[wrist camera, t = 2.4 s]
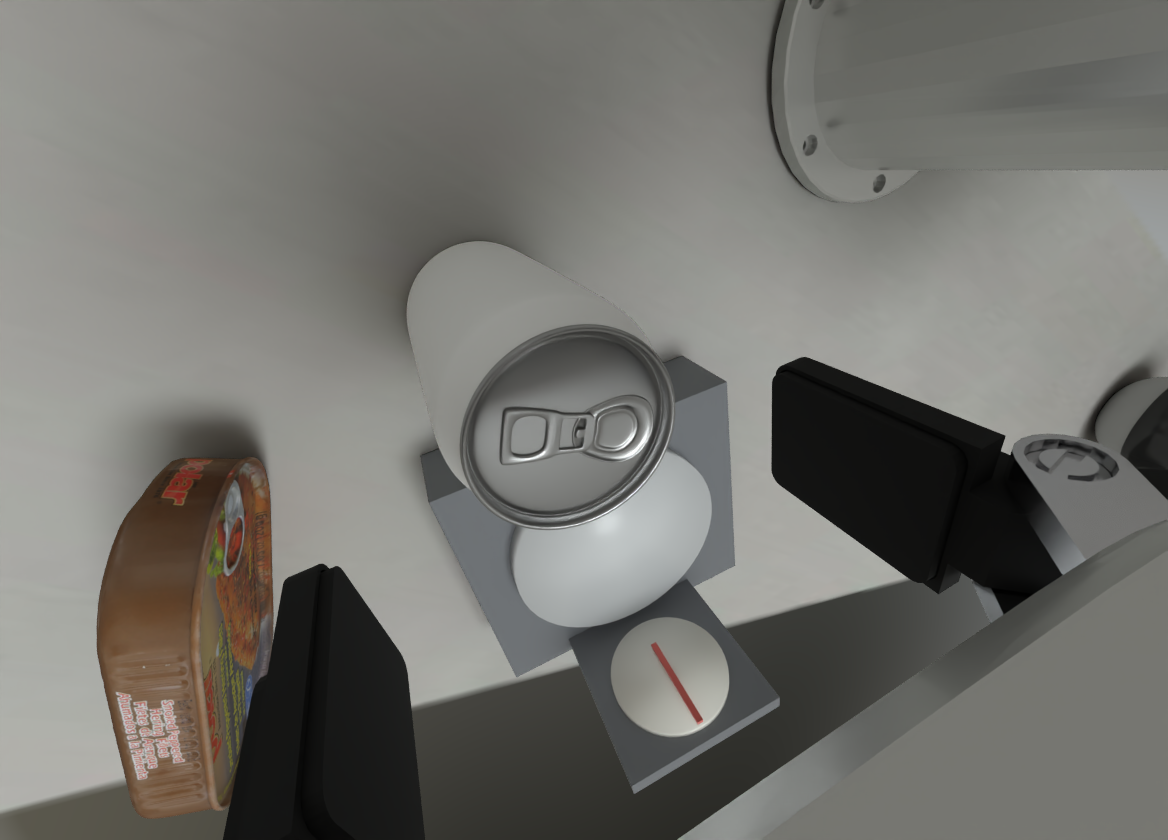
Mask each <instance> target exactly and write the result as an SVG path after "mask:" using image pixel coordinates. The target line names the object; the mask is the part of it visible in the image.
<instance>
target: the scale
mask: <svg viewBox="0 0 1168 840" xmlns="http://www.w3.org/2000/svg"><path fill="white" fill-rule="evenodd" d="M663 364H664V366H665V367H666V369H667V371H668V373H669V376H670V379H671V381H672V385H673V389H674V394H675V407H676V409H675V422H674V428H673V432H672V436H671V439H670V442H669V445H668V448H667V450H666V452H665V454H664V456H663V458H662V460H661V462H660V464H659V465H658V467H657V469H656V470H655V472H654V473H653V474H652V476H651V477H650V478H649V480H648V481H647V482H646V483H645V484H644V485H643V487H642V488H641V489H640V490H639V491H638V492H637V493H636V494H635V495H633V496H632V497H631V498H630V499H629V500H628V501H626V502H625V503H624V504H622V505H621V506H620V507H618V508H617V509H615V510H613V511H612V512H610V513H608V514H607V515H605V516H603V517H601V518H599V519H596V520H594V521H592V522H589V523H586V524H583V525H580V526H576V527H572V528H566V529H559V530H535V529H529V528H524V527H520V526H517V525H514V524H511V523H509V522H507V521H504V520H503V519H501V518H499V517H497V516H496V515H494V514H493V513H492V512H490V511H489V510H488V509H487V508H486V507H484V506H483V505H482V504H481V502H480V501H479V500H478V499H477V498H476V496H475V495H474V493H473V492H472V491H471V490H470V489H469V488H467V487H466V486H465V485H464V484H463V483H462V482H461V481H460V480H459V479H458V478H457V477H456V476H455V475H454V473H453V472H452V471H451V469H450V468H449V466H448V465H447V463H446V461H445V459H444V457H443V455H442V453H441V451H440V449H437V450H435V451H432V452H429V453H427V454H424V455H422V456H420V457H421V462H422V468H423V473H424V479H425V484H426V490H427V495H428V501H429V504H430V506H431V508H432V510H433V512H434V514H435V516H436V518H437V520H438V522H439V524H440V526H441V528H442V530H443V532H444V534H445V536H446V538H447V540H448V542H449V544H450V546H451V548H452V550H453V552H454V554H455V556H456V558H457V560H458V562H459V564H460V566H461V568H462V570H463V572H464V574H465V576H466V578H467V580H468V582H469V584H470V586H471V588H472V590H473V592H474V594H475V596H476V598H477V600H478V602H479V603H480V605H481V607H482V609H483V611H484V613H485V615H486V617H487V619H488V621H489V623H490V625H491V627H492V629H493V631H494V633H495V635H496V637H497V639H498V641H499V643H500V645H501V647H502V649H503V651H504V653H505V655H506V657H507V659H508V661H509V663H510V665H511V667H512V669H513V671H514V673H515V675H516V677H518V676H520V675H522V674H524V673H526V672H528V671H530V670H532V669H534V668H536V667H538V666H540V665H542V664H544V663H546V662H547V661H549V660H551V659H553V658H555V657H557V656H559V655H561V654H563V653H565V652H567V651H569V650H571V649H573V651H574V654H575V656H576V658H577V661H578V663H579V666H580V668H581V670H582V672H583V675H584V677H585V680H586V682H587V684H588V686H589V689H590V691H591V694H592V696H593V698H594V700H595V703H596V705H597V708H598V710H599V712H600V714H601V717H602V719H603V722H604V724H605V726H606V729H607V731H608V733H609V736H610V738H611V740H612V743H613V745H614V748H615V750H616V752H617V754H618V757H619V759H620V762H621V764H622V766H623V768H624V771H625V773H626V775H627V778H628V780H629V783H630V785H631V787H632V789H633V792H634V794H635V793H636V792H638V791H640V790H641V789H643V788H645V787H646V786H648V785H650V784H651V783H653V782H655V781H656V780H658V779H659V778H661V777H663V776H665V775H666V774H668V773H669V772H671V771H673V770H674V769H676V768H678V767H679V766H681V765H682V764H684V763H686V762H688V761H689V760H691V759H692V758H694V757H696V756H697V755H699V754H701V753H702V752H704V751H706V750H707V749H709V748H711V747H712V746H714V745H715V744H717V743H719V742H721V741H722V740H724V739H726V738H727V737H729V736H730V735H732V734H733V733H735V732H737V731H739V730H740V729H742V728H744V727H745V726H747V725H748V724H750V723H752V722H754V721H755V720H757V719H758V718H760V717H762V716H763V715H765V714H767V713H768V712H770V711H772V710H773V709H775V708H777V707H778V706H779V700H780V697H779V696H778V695H777V693H776V692H775V691H774V690H773V688H772V687H771V686H770V684H769V683H768V682H767V681H766V679H765V678H764V677H763V675H762V674H761V673H760V672H759V670H758V669H757V668H756V666H755V665H754V664H753V663H752V661H751V660H750V659H749V658H748V656H747V655H746V654H745V652H744V651H743V650H742V649H741V647H740V646H739V645H738V644H737V642H736V641H735V640H734V638H733V637H732V636H731V634H730V633H729V632H728V631H727V629H726V628H725V627H724V625H723V624H722V623H721V622H720V620H719V619H718V618H717V617H716V615H715V614H714V613H713V611H712V610H711V609H710V608H709V606H708V605H707V604H706V602H705V601H704V600H703V599H702V597H701V596H700V595H699V593H698V592H697V591H696V590H695V588H694V586H696V585H698V584H700V583H702V582H704V581H706V580H708V579H710V578H712V577H714V576H715V575H717V574H719V573H721V572H723V571H725V570H727V569H729V568H731V567H733V566H735V554H734V532H733V510H732V487H731V465H730V443H729V421H728V398H727V382H726V381H724V380H723V379H721V378H719V377H718V376H716V375H714V374H713V373H711V372H709V371H707V370H706V369H704V368H702V367H701V366H699V365H697V364H696V363H694V362H692V361H691V360H689V359H687V358H685V357H684V356H681V357H678V358H676V359H673V360H670V361H668V362H665V363H663Z"/></svg>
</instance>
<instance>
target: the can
mask: <svg viewBox="0 0 1168 840" xmlns="http://www.w3.org/2000/svg"><path fill="white" fill-rule="evenodd" d="M407 325H408V331H409V336H410V341H411V345H412V349H413V353H414V357H415V362H416V366H417V370H418V374H419V378H420V382H421V386H422V390H423V394H424V398H425V402H426V406H427V409H428V413H429V417H430V421H431V424H432V428H433V431H434V435H435V438H436V441H437V444H438V446H439V449H440V451H441V453H442V455H443V457H444V459H445V461H446V463H447V465H448V466H449V468H450V469H451V471H452V472H453V473H454V475H455V476H456V477H457V478H458V479H459V480H460V481H461V482H462V483H463V484H464V485H465V486H466V487H467V488H469V489H470V490H471V491H472V492H473V493H474V495H475V496H476V498H477V499H478V500H479V501H480V502H481V504H482V505H483V506H484V507H486V508H487V509H488V510H489V511H490V512H492V513H493V514H494V515H496V516H497V517H499V518H501V519H503V520H504V521H507V522H509V523H511V524H514V525H517V526H520V527H524V528H529V529H535V530H559V529H566V528H572V527H576V526H580V525H583V524H586V523H589V522H592V521H594V520H596V519H599V518H601V517H603V516H605V515H607V514H608V513H610V512H612V511H613V510H615V509H617V508H618V507H620V506H621V505H622V504H624V503H625V502H626V501H628V500H629V499H630V498H631V497H632V496H633V495H635V494H636V493H637V492H638V491H639V490H640V489H641V488H642V487H643V485H644V484H645V483H646V482H647V481H648V480H649V478H650V477H651V476H652V474H653V473H654V472H655V470H656V469H657V467H658V465H659V464H660V462H661V460H662V458H663V456H664V454H665V452H666V450H667V448H668V445H669V442H670V439H671V436H672V432H673V428H674V422H675V409H676V407H675V394H674V389H673V385H672V381H671V379H670V376H669V373H668V371H667V369H666V367H665V366H664V364H663V362H662V361H661V359H660V358H659V357H658V355H657V354H656V353H655V352H654V351H653V349H652V347H651V345H650V343H649V341H648V339H647V337H646V336H645V334H644V333H643V331H642V330H641V328H640V327H639V326H638V325H637V324H636V323H635V322H634V321H633V320H632V319H631V318H630V317H629V316H628V315H627V314H626V313H625V312H623V311H622V310H621V309H620V308H618V307H617V306H615V305H614V304H612V303H611V302H609V301H608V300H606V299H604V298H603V297H601V296H599V295H597V294H596V293H594V292H592V291H590V290H589V289H587V288H585V287H583V286H581V285H579V284H578V283H576V282H574V281H572V280H570V279H569V278H567V277H565V276H563V275H561V274H559V273H558V272H556V271H554V270H552V269H550V268H548V267H546V266H545V265H543V264H541V263H539V262H537V261H535V260H533V259H531V258H530V257H528V256H526V255H524V254H522V253H520V252H518V251H516V250H514V249H512V248H509V247H507V246H504V245H501V244H497V243H493V242H486V241H473V242H465V243H461V244H457V245H454V246H452V247H449V248H447V249H445V250H443V251H442V252H440V253H438V254H437V255H436V256H434V257H433V258H432V259H431V260H430V261H429V262H428V263H427V264H426V265H425V266H424V267H423V268H422V269H421V271H420V272H419V274H418V275H417V277H416V278H415V280H414V282H413V285H412V287H411V290H410V293H409V297H408V302H407Z"/></svg>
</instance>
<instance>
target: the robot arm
mask: <svg viewBox="0 0 1168 840" xmlns="http://www.w3.org/2000/svg"><path fill="white" fill-rule="evenodd" d="M772 107H773V115H774V123H775V130H776V133H777V137H778V140H779V143H780V147H781V150H782V153H783V155H784V157H785V159H786V161H787V163H788V165H789V167H790V169H791V171H792V173H793V174H794V175H795V176H796V178H797V179H798V180H799V181H800V182H801V184H802V185H803V186H804V187H805V188H806V189H808V190H809V191H811V192H812V193H814V194H815V195H817V196H818V197H821V198H824V199H827V200H830V201H833V202H847V203H860V202H867V201H873V200H875V199H878V198H880V197H883V196H885V195H888V194H890V193H891V192H893V191H894V190H896V189H897V188H899V187H901V186H902V185H904V184H905V183H906V182H908V181H909V180H910V179H911V178H912V177H913V176H914V175H915V174H916V173H918V172H919V171H920V170H1168V0H786V1H785V5H784V8H783V12H782V16H781V20H780V24H779V28H778V32H777V36H776V43H775V50H774V58H773V65H772ZM1004 439H1005V435H1002V434H1000V433H997V432H995V431H992V430H990V429H987V428H984V427H982V426H979V425H977V424H974V423H972V422H969V421H967V420H964V419H962V418H959V417H957V416H954V415H952V414H949V413H947V412H944V411H942V410H939V409H937V408H934V407H931V406H929V405H926V404H924V403H921V402H919V401H916V400H914V399H911V398H909V397H906V396H904V395H901V394H899V393H896V392H894V391H891V390H889V389H886V388H884V387H881V386H878V385H876V384H873V383H871V382H868V381H866V380H863V379H861V378H858V377H856V376H853V375H851V374H848V373H846V372H843V371H841V370H838V369H836V368H833V367H831V366H828V365H825V364H823V363H820V362H818V361H815V360H813V359H810V358H807V357H802V358H799V359H796V360H794V361H792V362H789V363H787V364H785V365H782V366H781V367H779V368H778V370H777V371H776V376H775V377H774V378H773V381H772V474H773V477H774V479H775V480H776V482H777V483H778V484H779V485H780V486H782V487H783V488H785V489H786V490H787V491H789V492H790V493H791V494H793V495H794V496H796V497H797V498H798V499H800V500H801V501H803V502H804V503H805V504H807V505H808V506H809V507H811V508H812V509H814V510H815V511H816V512H818V513H819V514H820V515H822V516H823V517H825V518H826V519H827V520H829V521H830V522H832V523H833V524H834V525H836V526H837V527H838V528H840V529H841V530H843V531H844V532H845V533H847V534H848V535H850V536H851V537H852V538H854V539H855V540H856V541H858V542H859V543H861V544H862V545H863V546H865V547H866V548H868V549H869V550H870V551H872V552H873V553H874V554H876V555H877V556H879V557H880V558H881V559H883V560H884V561H885V562H887V563H888V564H890V565H891V566H892V567H894V568H895V569H897V570H898V571H899V572H901V573H902V574H903V575H905V576H906V577H908V578H909V579H911V580H912V581H915V582H918V583H924V584H925V585H926V586H928V587H929V588H931V589H932V590H933V591H935V592H936V593H938V594H940V593H941V592H943V591H944V590H946V589H947V588H949V587H951V586H952V585H953V584H955V583H957V582H958V581H959V578H960V575H961V573H963V574H964V575H966V576H967V577H969V578H970V579H972V583H973V585H974V587H975V590H976V592H977V594H978V596H979V599H980V601H981V603H982V605H983V608H984V610H985V612H986V615H987V617H988V619H989V621H990V624H989V625H988V626H986V627H985V628H983V629H982V630H980V631H979V632H977V633H976V634H975V635H973V636H972V637H970V638H969V639H967V640H966V641H964V642H963V643H961V644H960V645H958V646H957V647H956V648H954V649H952V650H951V651H950V652H948V653H947V654H945V655H944V656H942V657H941V658H939V659H938V660H936V661H935V662H933V663H932V664H931V665H929V666H928V667H926V668H925V669H923V670H922V671H920V672H919V673H918V674H916V675H915V676H913V677H912V678H910V679H909V680H907V681H906V682H904V683H903V684H901V685H900V686H899V687H897V688H896V689H894V690H893V691H891V692H890V693H888V694H887V695H885V696H884V697H882V698H881V699H880V700H878V701H877V702H875V703H874V704H873V705H871V706H869V707H868V708H867V709H865V710H864V711H862V712H861V713H859V714H858V715H856V716H855V717H854V718H852V719H851V720H849V721H848V722H846V723H845V724H844V725H842V726H840V727H839V728H837V729H836V730H835V731H833V732H832V733H830V734H829V735H827V736H826V737H824V738H823V739H822V740H820V741H819V742H817V743H816V744H814V745H813V746H812V747H810V748H809V749H807V750H806V751H804V752H803V753H801V754H800V755H799V756H797V757H796V758H794V759H793V760H791V761H790V762H788V763H787V764H785V765H784V766H782V767H781V768H780V769H778V770H777V771H775V772H774V773H772V774H771V775H769V776H768V777H767V778H765V779H764V780H762V781H761V782H759V783H758V784H756V785H755V786H754V787H752V788H751V789H749V790H748V791H746V792H745V793H744V794H742V795H741V796H739V797H738V798H736V799H735V800H734V801H732V802H731V803H729V804H728V805H726V806H725V807H724V808H722V809H721V810H719V811H718V812H716V813H715V814H713V815H712V816H711V817H709V818H708V819H706V820H705V821H703V822H702V823H701V824H699V825H698V826H696V827H695V828H693V829H692V830H691V831H689V832H688V833H686V834H685V835H683V836H682V837H680V838H679V839H678V840H1168V470H1159V469H1141V468H1135V467H1134V466H1133V465H1132V464H1131V463H1130V462H1129V461H1128V460H1127V459H1126V458H1124V457H1123V456H1122V455H1120V454H1119V453H1118V452H1116V451H1114V450H1112V449H1110V448H1108V447H1106V446H1104V445H1102V444H1099V443H1096V442H1093V441H1090V440H1087V439H1084V438H1079V437H1073V436H1068V435H1059V434H1039V435H1031V436H1028V437H1024V438H1021V439H1020V440H1019V441H1017V442H1016V443H1014V446H1013V449H1012V452H1011V455H1008V454H1006V453H1003V452H1001V449H1002V445H1003V442H1004ZM223 840H425V834H424V825H423V815H422V806H421V796H420V787H419V777H418V769H417V759H416V749H415V740H414V730H413V720H412V711H411V701H410V692H409V682H408V673H407V668H406V664H405V662H404V659H403V657H402V655H401V653H400V652H399V650H398V649H397V647H396V646H395V644H394V643H393V642H392V640H391V639H390V637H389V636H388V634H387V633H386V632H385V630H384V629H383V627H382V626H381V624H380V623H379V622H378V620H377V619H376V617H375V616H374V614H373V613H372V612H371V610H370V609H369V607H368V606H367V604H366V603H365V602H364V600H363V599H362V597H361V596H360V594H359V593H358V592H357V590H356V589H355V587H354V586H353V584H352V583H351V582H350V580H349V579H348V577H347V576H346V574H345V573H344V572H343V570H342V569H341V568H340V567H338V566H335V567H333V568H331V569H329V568H328V567H327V566H326V565H324V564H319V565H316V566H314V567H312V568H309V569H307V570H305V571H302V572H300V573H298V574H295V575H293V576H291V577H288V578H287V579H286V580H285V581H284V584H283V588H282V594H281V600H280V605H279V611H278V616H277V622H276V628H275V633H274V639H273V645H272V650H271V656H270V661H269V667H268V673H267V675H265V676H263V677H261V678H260V679H259V680H258V682H257V683H256V684H255V687H254V690H253V693H252V697H251V702H250V707H249V712H248V717H247V722H246V727H245V732H244V737H243V742H242V747H241V752H240V757H239V762H238V767H237V772H236V777H235V782H234V787H233V792H232V797H231V802H230V807H229V812H228V817H227V822H226V827H225V832H224V837H223Z"/></svg>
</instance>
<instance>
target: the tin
mask: <svg viewBox="0 0 1168 840" xmlns="http://www.w3.org/2000/svg"><path fill="white" fill-rule="evenodd" d="M272 641H273V589H272V550H271V509H270V491H269V484H268V479H267V475H266V471H265V468H264V466H263V464H262V463H261V462H260V461H259V460H258V459H257V458H254V457H246V458H244V459H222V458H182V459H178V460H174V461H172V462H171V463H170V464H169V465H168V466H167V467H165V468H164V469H163V470H162V471H161V472H160V473H159V474H158V475H157V476H156V477H155V479H154V480H153V481H152V483H151V484H150V485H149V486H148V488H147V489H146V490H145V492H144V493H143V495H142V497H141V498H140V499H139V500H138V502H137V503H136V504H135V505H134V506H133V508H132V509H131V510H130V511H129V513H128V514H127V515H126V517H125V519H124V520H123V522H122V524H121V526H120V528H119V530H118V533H117V535H116V538H115V540H114V543H113V545H112V548H111V551H110V555H109V558H108V561H107V565H106V569H105V572H104V576H103V580H102V585H101V590H100V596H99V603H98V615H97V655H98V659H99V664H100V669H101V675H102V679H103V682H104V688H105V693H106V697H107V701H108V706H109V710H110V714H111V719H112V723H113V729H114V733H115V736H116V741H117V745H118V749H119V753H120V757H121V761H122V765H123V769H124V774H125V778H126V782H127V786H128V790H129V794H130V798H131V802H132V805H133V807H134V808H135V811H136V812H137V813H138V814H139V815H140V816H141V817H144V818H149V819H152V818H164V817H170V816H176V815H181V814H187V813H192V812H198V811H203V810H208V809H214V810H219V811H220V810H224V809H225V808H226V807H228V806H229V805H230V802H231V797H232V792H233V787H234V782H235V777H236V772H237V767H238V762H239V757H240V752H241V747H242V742H243V737H244V732H245V727H246V722H247V717H248V712H249V707H250V702H251V697H252V693H253V690H254V687H255V684H256V683H257V682H258V680H259V679H260V678H261V677H263V676H265V675H267V673H268V667H269V661H270V656H271V650H272Z"/></svg>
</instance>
